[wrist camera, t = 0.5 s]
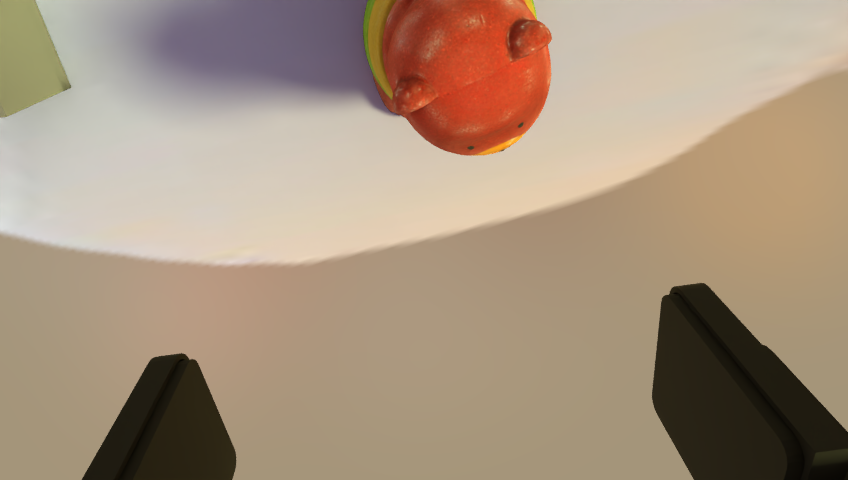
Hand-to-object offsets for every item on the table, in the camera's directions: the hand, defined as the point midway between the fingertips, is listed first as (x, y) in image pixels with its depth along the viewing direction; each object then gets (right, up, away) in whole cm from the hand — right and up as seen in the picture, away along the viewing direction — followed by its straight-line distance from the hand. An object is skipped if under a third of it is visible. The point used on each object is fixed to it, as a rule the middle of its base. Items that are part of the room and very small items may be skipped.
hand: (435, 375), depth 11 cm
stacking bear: (+1, +17, +25) cm, 30 cm away
